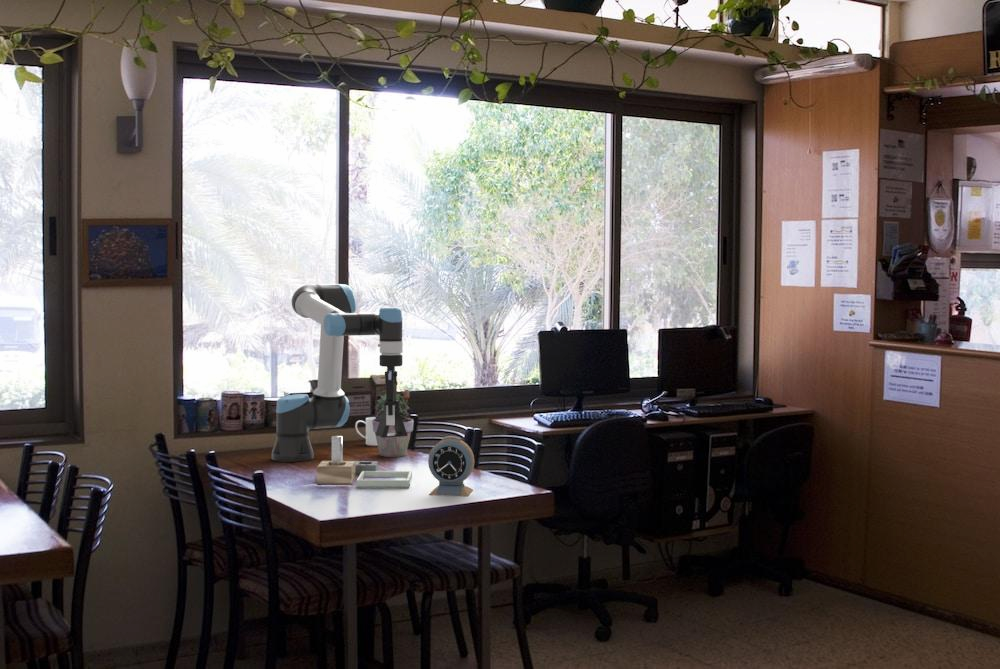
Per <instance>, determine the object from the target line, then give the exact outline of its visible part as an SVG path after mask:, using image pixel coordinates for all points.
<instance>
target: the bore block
mask: <svg viewBox="0 0 1000 669" xmlns="http://www.w3.org/2000/svg"><path fill="white" fill-rule="evenodd" d="M355 461H356V460H343V465H332V460H322V461H320V463H319V464H318V465H317V466H316V480H317V481H316V485H317V486H353V485H352V484H353V481H354V479H355V478H356V475H355Z"/></svg>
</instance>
